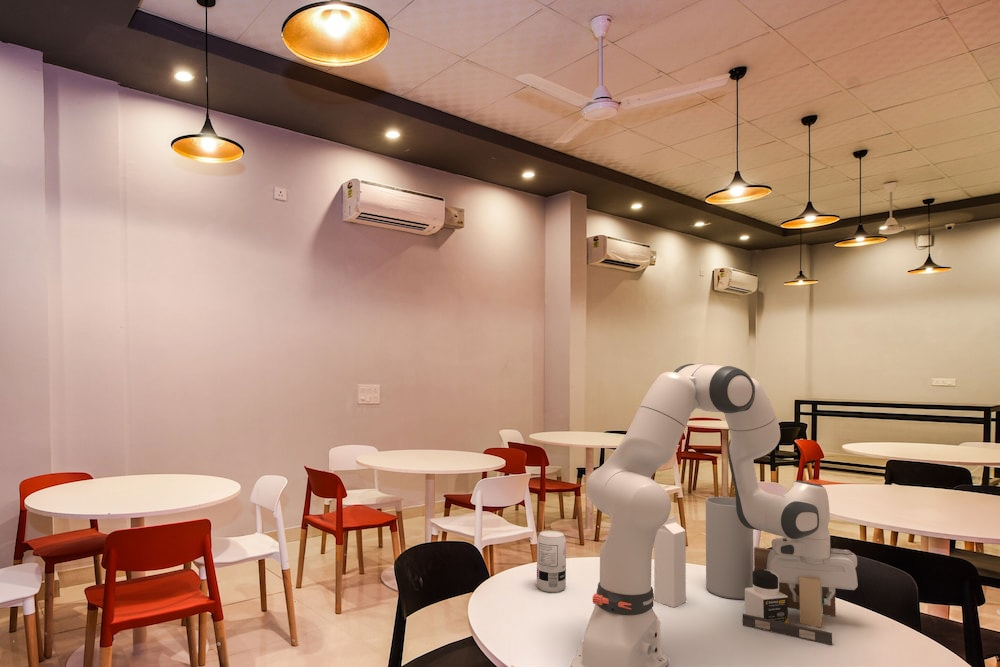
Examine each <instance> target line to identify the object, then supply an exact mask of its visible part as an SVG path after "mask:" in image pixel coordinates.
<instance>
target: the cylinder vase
mask: <svg viewBox="0 0 1000 667" xmlns="http://www.w3.org/2000/svg"><path fill="white" fill-rule="evenodd" d="M753 571H754V529H750V528H747V527H745V526H744V525H743V524H742V523H741V521H740V520H739V518H738V515H737V512H736V497H731V496H711V497H707V498H705V577H706V578H705V587H706V589H707V590H708V591H709V592H710V593H711V594H713V595H715V596H718V597H721V598H725V599H732V600H745V588H752V587H753V577H752V573H753Z"/></svg>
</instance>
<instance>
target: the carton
mask: <svg viewBox="0 0 1000 667" xmlns="http://www.w3.org/2000/svg"><path fill="white" fill-rule="evenodd" d="M799 593H800V610H799V623H800V624H802V625H808V626H812V627H819V628H822V623H823V622H822V621H823V603H822V600H823V599H822V596H823V594H822V587H821V582H820V578H813V577H803V576H799Z"/></svg>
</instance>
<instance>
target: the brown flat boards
mask: <svg viewBox="0 0 1000 667" xmlns="http://www.w3.org/2000/svg"><path fill="white" fill-rule="evenodd" d="M772 549H773V548H766V547H760V546H753V561H754V571H755V570H758V569H765V570H767V559H768V554H769V552H770V551H771V550H772ZM793 590H794V591H795V593H799V584H795V588H793ZM779 592H781V593H783V594H785V595H787V597H788V609H789V608H790V609H795V610H799V611H800V602H794V601H793V593H792V592H791V590H790V588H789V586H788V583H779ZM827 593H828V589H827V587H822V594H823V596H826V595H827ZM799 595H800V593H799ZM830 603H831V605H830V606H827V605H823V614H824V615H823V614H822V615H823V616H828V615H830V616H829V617H833V616H837V614H836V613H837V612H836V610H837V609H836V608H837V606H836V593H835V594H834V595H833V597H832V598H831V599H830ZM742 626H744V627H745V626H746V627H749V628H754V629H759V630H762V631H767V632H772V633H776V634H780V635H785V636H789V637H794V638H798V639H802V640H806V641H812V642H816V643H820V644H825V645H829V646H833V633H832V632H831V631H826V630H820V629H817V628H816V629H815V628H811V627H808V626H803V625H802V626H801V625H797V624H794V623H789V622H788V623H784V622H780V621H775V620H770V619H766V618H761V617H756V616H752V615H747V614H745V613H742Z"/></svg>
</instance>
